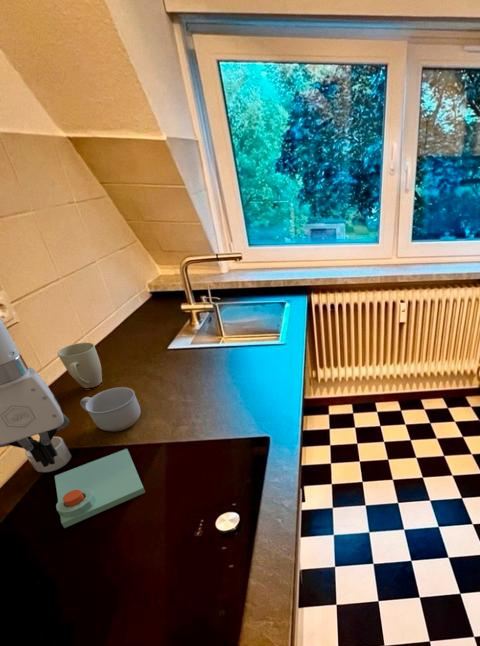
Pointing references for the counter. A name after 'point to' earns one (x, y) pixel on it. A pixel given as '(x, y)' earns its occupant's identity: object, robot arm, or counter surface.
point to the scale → (98, 486)
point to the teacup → (113, 408)
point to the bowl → (60, 459)
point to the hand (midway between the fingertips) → (49, 461)
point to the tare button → (73, 498)
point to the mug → (82, 363)
